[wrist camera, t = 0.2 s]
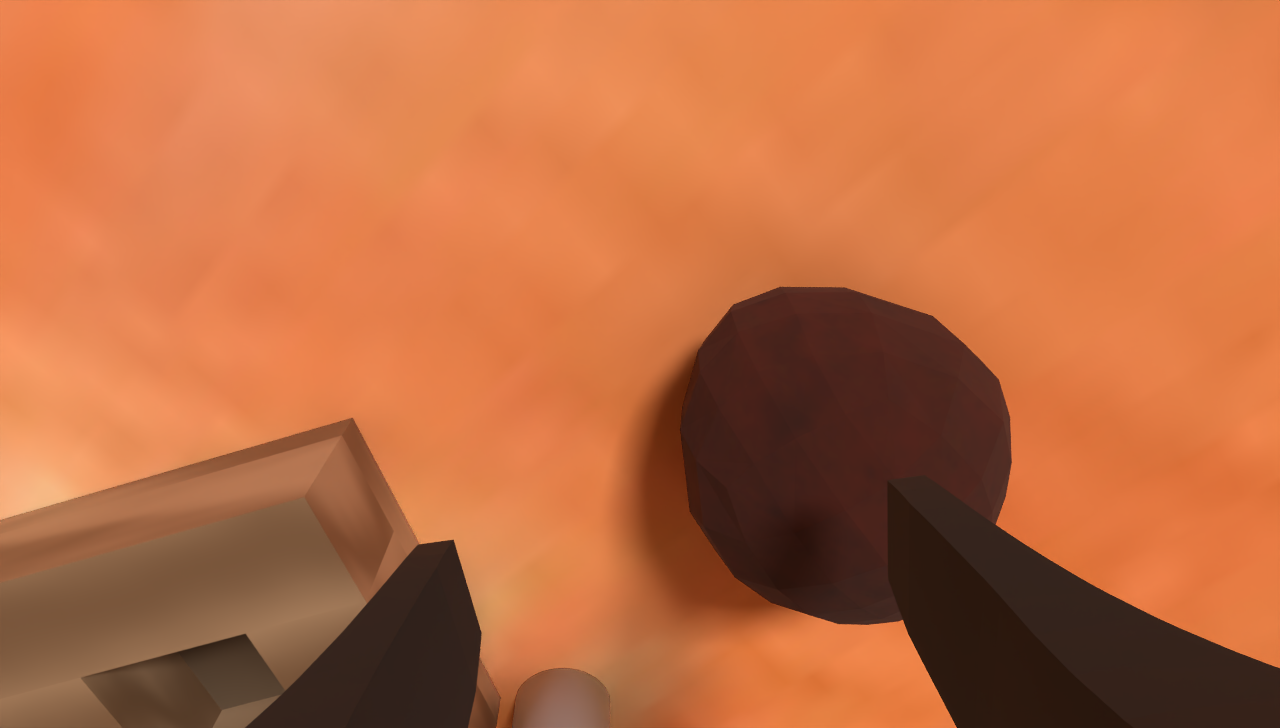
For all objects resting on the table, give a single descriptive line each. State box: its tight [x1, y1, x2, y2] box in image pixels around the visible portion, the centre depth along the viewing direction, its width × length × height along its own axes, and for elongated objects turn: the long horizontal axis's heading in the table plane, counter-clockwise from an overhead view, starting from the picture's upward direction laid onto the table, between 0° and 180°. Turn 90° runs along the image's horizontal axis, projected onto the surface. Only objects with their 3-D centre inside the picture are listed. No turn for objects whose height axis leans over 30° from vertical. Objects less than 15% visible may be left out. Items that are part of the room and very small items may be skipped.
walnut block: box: [0, 418, 500, 728], centre depth 24 cm, size 12×12×4 cm
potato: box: [680, 287, 1012, 625], centre depth 19 cm, size 8×9×8 cm
